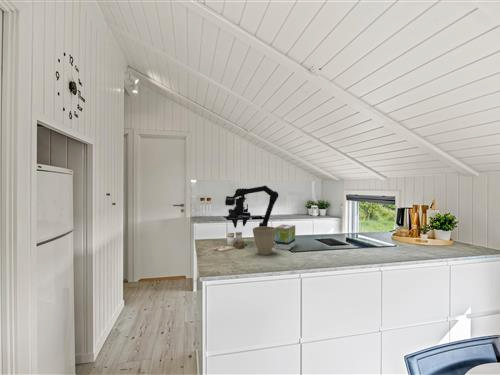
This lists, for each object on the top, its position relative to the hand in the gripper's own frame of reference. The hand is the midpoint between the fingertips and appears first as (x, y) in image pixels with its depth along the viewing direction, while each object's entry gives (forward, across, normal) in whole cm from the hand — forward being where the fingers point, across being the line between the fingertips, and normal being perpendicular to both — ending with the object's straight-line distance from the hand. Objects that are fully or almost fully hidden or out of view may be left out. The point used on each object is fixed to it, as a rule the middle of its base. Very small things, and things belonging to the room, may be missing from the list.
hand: (239, 227), depth 208 cm
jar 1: (+12, +5, -4) cm, 14 cm away
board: (+12, +18, +2) cm, 22 cm away
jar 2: (+12, +9, 0) cm, 16 cm away
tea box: (+12, -12, +32) cm, 36 cm away
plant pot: (+12, +10, +30) cm, 34 cm away
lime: (+12, 0, +6) cm, 13 cm away
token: (+12, +10, +9) cm, 18 cm away
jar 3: (+12, -1, -1) cm, 12 cm away
